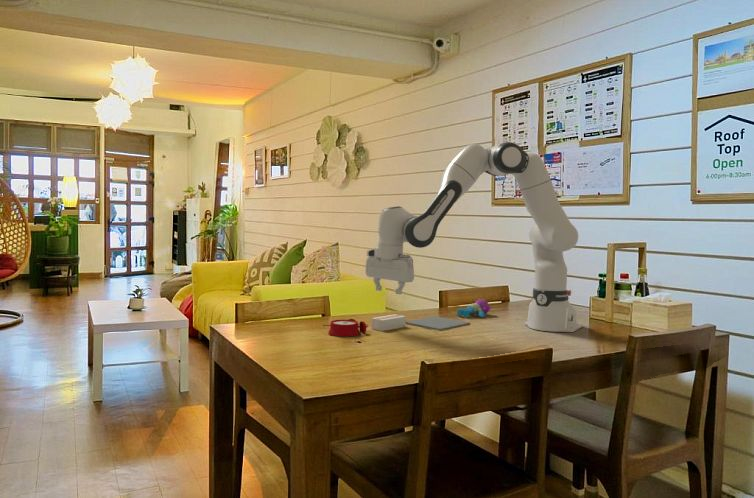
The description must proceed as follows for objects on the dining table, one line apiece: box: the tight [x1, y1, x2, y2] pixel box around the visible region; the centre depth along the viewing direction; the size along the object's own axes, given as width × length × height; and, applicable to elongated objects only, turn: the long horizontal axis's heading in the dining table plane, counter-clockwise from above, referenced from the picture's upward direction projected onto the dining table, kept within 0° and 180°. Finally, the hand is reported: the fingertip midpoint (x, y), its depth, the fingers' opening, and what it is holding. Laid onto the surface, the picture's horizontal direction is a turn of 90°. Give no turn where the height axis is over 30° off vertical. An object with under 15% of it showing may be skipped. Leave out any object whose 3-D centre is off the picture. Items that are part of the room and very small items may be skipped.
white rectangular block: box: [371, 313, 406, 332], centre depth 209 cm, size 12×5×4 cm, turn 136°
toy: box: [456, 299, 492, 319], centre depth 237 cm, size 12×7×15 cm
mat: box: [405, 316, 471, 331], centre depth 218 cm, size 18×16×1 cm
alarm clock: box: [323, 318, 369, 337], centre depth 198 cm, size 10×6×15 cm
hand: (388, 292), depth 208 cm, fingers open, 8 cm apart
